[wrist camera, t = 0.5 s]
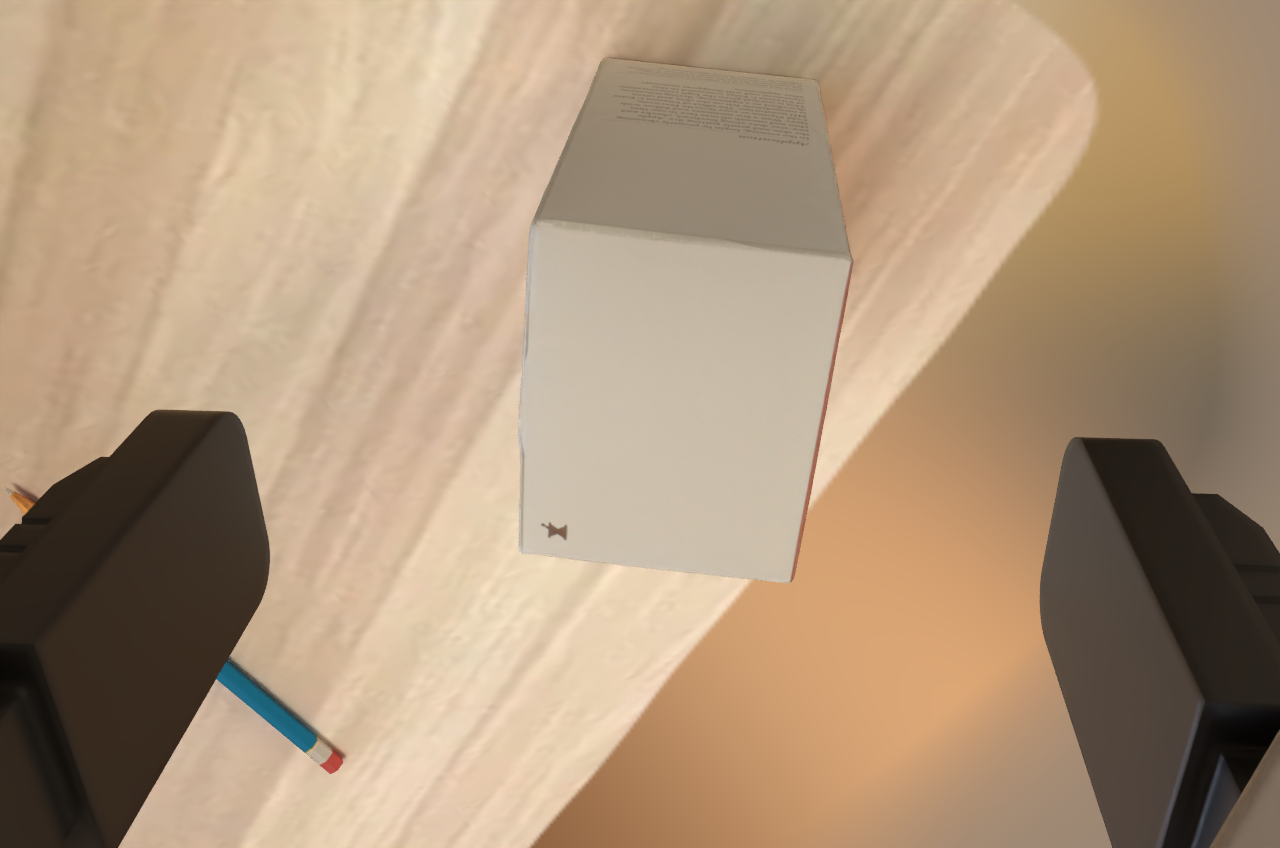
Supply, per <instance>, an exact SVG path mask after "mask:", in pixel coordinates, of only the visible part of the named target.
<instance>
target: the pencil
mask: <svg viewBox="0 0 1280 848" xmlns="http://www.w3.org/2000/svg"><path fill="white" fill-rule="evenodd" d="M4 488H5V487H4ZM5 489H6V491H7V492H8V494H9V496H10V497H11V498H12V499H13V501H14V502H15V503H16V505H17V506H18V507H19V508H20V510H21V511H22V512H23V513H24V515H25V514H26V513H27V512H28V511H29V510H30V508H31V507H32V506H33V505H34V504H35V503H34V502H33V501H31V500H29V499H27V498H25V497H23V496H22V495H20V494H18V493H16V492H14V491H12V490H10V489H7V488H5ZM216 679H217V680H218V681H219V682H221V683H222V684H223V685H224V686H225V687H227V688H228V689H229V690H230V691H231V692H233V693H234V694H235V695H236V696H237V697H239V698H240V699H241V700H242V701H243V702H245V703H246V704H247V705H248V706H249V707H251V708H252V709H253V710H254V711H255V712H257V713H258V714H259V715H260V716H261V717H263V718H264V719H265V720H266V721H267V722H269V723H270V724H271V725H272V726H273V727H275V728H276V729H277V730H278V731H279V732H281V733H282V734H283V735H284V736H285V737H287V738H288V739H289V740H290V741H291V742H293V743H294V744H295V745H296V746H297V747H299V748H300V749H301V750H302V751H303V752H305V753H306V754H307V755H308V756H309V757H311V758H312V759H313V760H314V761H315V762H317V763H318V764H319V765H320V766H321V767H323V768H324V769H325V770H326V771H327V772H329V773H330V774H332V773H334V772H335V771H337V770H338V769H339V768H340V766H341V765H342V763H343V760H342V757H341V756H340V755H338V754H337V753H336V752H335V751H334V750H333V749H331V748H330V747H329V746H328V745H327V744H325V743H324V742H323V741H322V740H321V739H320V738H318V737H317V736H316V735H315V734H314V733H312V732H311V731H310V730H309V729H308V728H306V727H305V726H304V725H303V724H302V723H301V722H299V721H298V720H297V719H296V718H295V717H293V716H292V715H291V714H290V713H289V712H288V711H286V710H285V709H284V708H283V707H282V706H280V705H279V704H278V703H277V702H276V701H275V700H273V699H272V698H271V697H270V696H269V695H267V694H266V693H265V692H264V691H263V690H261V689H260V688H259V687H258V686H257V685H256V684H254V683H253V682H252V681H251V680H250V679H248V678H247V677H246V676H245V675H244V674H243V673H241V672H240V671H239V670H238V669H237V668H235V667H234V666H233V665H232V664H231V663H230V662H228V661H226V663H225V665H224V666H223V668H222V670H221V671H220V673H219V675H218V677H217V678H216Z"/></svg>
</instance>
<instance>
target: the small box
mask: <svg viewBox="0 0 1280 848" xmlns="http://www.w3.org/2000/svg"><path fill="white" fill-rule="evenodd" d="M852 266H853V259H852V256H851V253H850V248H849V242H848V238H847V233H846V227H845V221H844V216H843V211H842V205H841V201H840V196H839V190H838V185H837V180H836V174H835V169H834V164H833V158H832V153H831V147H830V143H829V136H828V132H827V126H826V121H825V116H824V110H823V103H822V99H821V93H820V87H819V83H818V82H817V81H816V80H812V79H802V78H792V77H782V76H773V75H763V74H753V73H744V72H734V71H725V70H715V69H706V68H696V67H686V66H677V65H668V64H659V63H650V62H640V61H631V60H622V59H613V58H605V59H603V60H602V61H601V62H600V65H599V67H598V70H597V72H596V75H595V77H594V80H593V82H592V84H591V87H590V89H589V92H588V94H587V97H586V99H585V101H584V104H583V106H582V108H581V110H580V112H579V115H578V117H577V119H576V121H575V123H574V125H573V127H572V130H571V132H570V135H569V137H568V140H567V142H566V144H565V147H564V149H563V151H562V154H561V156H560V158H559V160H558V163H557V165H556V167H555V170H554V172H553V174H552V177H551V179H550V182H549V184H548V186H547V188H546V190H545V192H544V195H543V197H542V200H541V202H540V205H539V207H538V209H537V212H536V214H535V216H534V218H533V221H532V223H531V227H530V234H529V248H528V265H527V282H526V302H525V326H524V342H523V361H522V378H521V389H520V404H519V446H520V501H519V550H520V552H521V553H522V554H534V555H544V556H551V557H559V558H566V559H573V560H581V561H589V562H597V563H606V564H615V565H623V566H632V567H641V568H650V569H659V570H668V571H678V572H686V573H698V574H706V575H715V576H723V577H733V578H742V579H753V580H765V581H773V582H780V583H790V582H792V580H793V579H794V575H795V571H796V566H797V561H798V556H799V551H800V546H801V541H802V536H803V531H804V525H805V520H806V515H807V510H808V505H809V500H810V495H811V489H812V484H813V478H814V473H815V467H816V462H817V457H818V451H819V446H820V440H821V435H822V429H823V424H824V419H825V414H826V410H827V404H828V398H829V392H830V387H831V381H832V375H833V370H834V364H835V359H836V353H837V348H838V342H839V337H840V332H841V327H842V323H843V318H844V312H845V306H846V300H847V295H848V289H849V283H850V277H851V272H852Z"/></svg>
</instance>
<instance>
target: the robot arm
mask: <svg viewBox="0 0 1280 848" xmlns="http://www.w3.org/2000/svg"><path fill="white" fill-rule="evenodd" d="M269 565H270V549H269V541H268V535H267V530H266V526H265V521H264V516H263V512H262V507H261V502H260V497H259V493H258V488H257V483H256V479H255V474H254V469H253V464H252V460H251V455H250V450H249V446H248V441H247V436H246V433H245V429H244V427H243V424H242V422H241V421H240V419H239V418H238V417H237V415H235V414H234V413H232V412H224V411H188V410H155V411H153V412H151V413H150V414H149V415H148V416H147V417H146V418H145V419H144V420H143V421H142V422H141V423H140V424H139V425H138V426H137V427H136V429H135V430H134V431H133V432H132V433H131V434H130V435H129V436H128V437H127V438H126V439H125V441H124V442H123V443H122V444H121V445H120V446H119V447H118V448H117V449H116V450H115V451H114V453H113V454H112V455H111V456H110V457H100V458H98V459H96V460H95V461H93V462H91V463H89V464H88V465H86V466H84V467H83V468H81V469H79V470H77V471H76V472H74V473H72V474H71V475H69V476H67V477H66V478H64V479H62V480H60V481H59V482H57V483H55V484H54V485H53V486H52V487H51V488H50V489H49V490H48V491H47V492H46V493H45V494H44V495H43V496H42V497H41V498H40V499H39V500H38V501H37V502H36V503H35V504H34V505H33V506H32V507H31V508H30V510H29V511H28V512H27V513H26V514H25V515H24V516H23V517H22V524H15V525H14V526H13V527H12V528H11V529H10V530H9V531H8V532H7V534H6V535H5V536H4V537H3V538H2V539H1V540H0V848H118V847H119V845H120V843H121V841H122V840H123V838H124V836H125V835H126V833H127V831H128V829H129V828H130V826H131V824H132V823H133V821H134V819H135V817H136V816H137V814H138V812H139V811H140V809H141V807H142V805H143V804H144V802H145V800H146V799H147V797H148V795H149V793H150V792H151V790H152V788H153V787H154V785H155V783H156V781H157V780H158V778H159V776H160V774H161V773H162V771H163V769H164V768H165V766H166V764H167V762H168V761H169V759H170V757H171V756H172V754H173V752H174V750H175V749H176V747H177V745H178V744H179V742H180V740H181V738H182V737H183V735H184V733H185V732H186V730H187V728H188V726H189V725H190V723H191V721H192V720H193V718H194V716H195V714H196V713H197V711H198V709H199V707H200V706H201V704H202V702H203V701H204V699H205V697H206V695H207V694H208V692H209V690H210V689H211V687H212V685H213V683H214V682H215V680H216V678H217V677H218V675H219V673H220V671H221V670H222V668H223V666H224V665H225V663H226V661H227V659H228V658H229V656H230V654H231V653H232V651H233V649H234V647H235V646H236V644H237V642H238V641H239V639H240V637H241V635H242V634H243V632H244V630H245V628H246V627H247V625H248V623H249V622H250V620H251V618H252V616H253V615H254V613H255V611H256V610H257V608H258V606H259V604H260V602H261V600H262V598H263V595H264V593H265V589H266V585H267V581H268V575H269ZM1040 613H1041V623H1042V629H1043V634H1044V638H1045V641H1046V645H1047V648H1048V651H1049V654H1050V656H1051V660H1052V663H1053V666H1054V669H1055V672H1056V675H1057V678H1058V682H1059V685H1060V688H1061V691H1062V694H1063V697H1064V700H1065V703H1066V706H1067V709H1068V712H1069V715H1070V718H1071V722H1072V725H1073V728H1074V731H1075V734H1076V737H1077V740H1078V743H1079V746H1080V749H1081V752H1082V755H1083V758H1084V762H1085V765H1086V768H1087V771H1088V774H1089V777H1090V780H1091V783H1092V786H1093V789H1094V792H1095V796H1096V798H1097V802H1098V805H1099V808H1100V811H1101V814H1102V817H1103V820H1104V823H1105V826H1106V829H1107V832H1108V836H1109V838H1110V841H1111V845H1112V848H1280V553H1279V552H1278V550H1277V549H1276V547H1275V546H1274V544H1273V542H1272V541H1271V539H1270V538H1269V536H1268V535H1267V533H1266V532H1265V530H1264V529H1263V528H1262V527H1261V526H1260V525H1259V524H1257V523H1256V522H1255V521H1253V520H1251V519H1250V518H1249V517H1248V516H1246V515H1245V514H1244V513H1242V512H1241V511H1240V510H1238V509H1237V508H1236V507H1234V506H1233V505H1232V504H1230V503H1229V502H1228V501H1226V500H1225V499H1224V498H1222V497H1221V496H1219V495H1218V494H1194V493H1191V492H1190V490H1189V488H1188V486H1187V485H1186V483H1185V481H1184V480H1183V478H1182V476H1181V475H1180V473H1179V471H1178V469H1177V468H1176V466H1175V464H1174V463H1173V461H1172V459H1171V458H1170V456H1169V454H1168V452H1167V451H1166V449H1165V447H1164V446H1163V444H1162V443H1161V442H1159V441H1158V440H1154V439H1119V438H1083V437H1075V438H1073V439H1072V440H1071V441H1070V442H1069V444H1068V446H1067V448H1066V451H1065V454H1064V458H1063V462H1062V467H1061V472H1060V477H1059V483H1058V488H1057V493H1056V498H1055V504H1054V509H1053V514H1052V519H1051V525H1050V530H1049V535H1048V541H1047V546H1046V551H1045V556H1044V562H1043V567H1042V573H1041V582H1040Z"/></svg>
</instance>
